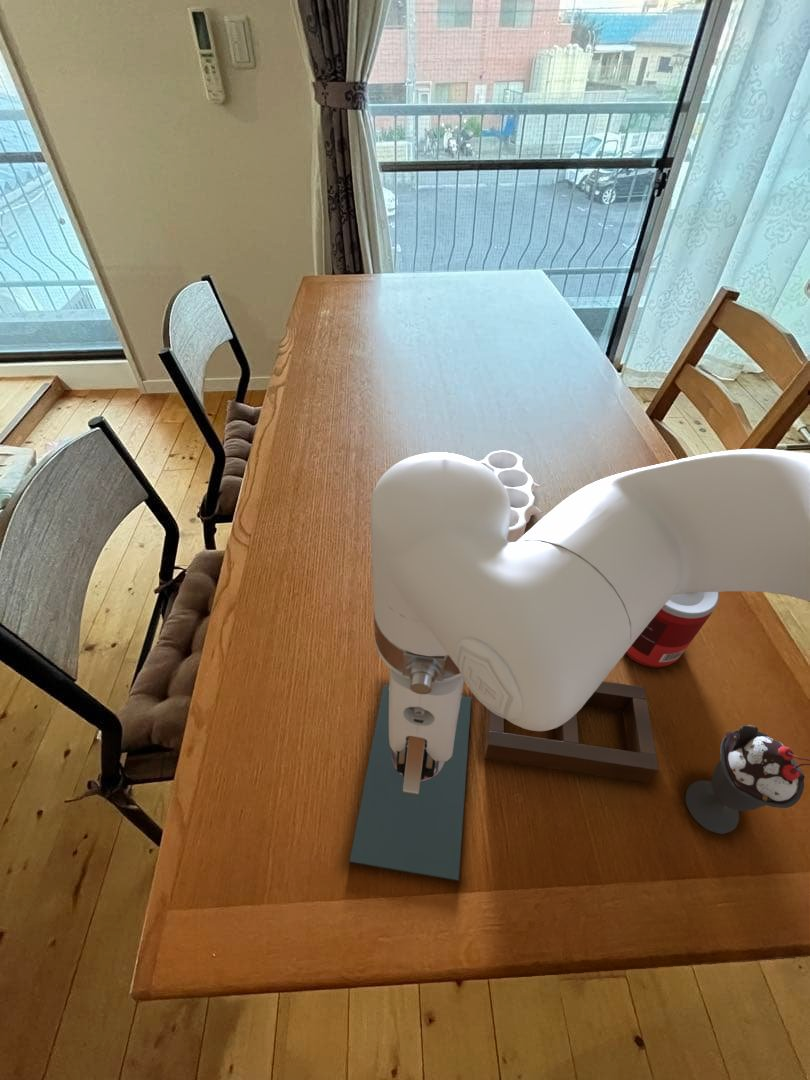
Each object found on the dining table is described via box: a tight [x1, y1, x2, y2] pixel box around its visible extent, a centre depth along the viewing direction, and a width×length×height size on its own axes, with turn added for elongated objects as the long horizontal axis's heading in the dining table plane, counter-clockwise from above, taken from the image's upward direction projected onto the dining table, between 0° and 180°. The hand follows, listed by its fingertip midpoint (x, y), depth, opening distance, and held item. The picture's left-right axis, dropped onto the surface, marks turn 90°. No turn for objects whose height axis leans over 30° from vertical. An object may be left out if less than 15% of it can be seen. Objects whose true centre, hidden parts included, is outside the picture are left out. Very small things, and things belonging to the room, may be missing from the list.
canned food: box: [625, 591, 720, 668], centre depth 64 cm, size 8×8×11 cm
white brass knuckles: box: [478, 450, 543, 542], centre depth 83 cm, size 3×18×15 cm
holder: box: [483, 680, 659, 784], centre depth 59 cm, size 9×16×4 cm, turn 82°
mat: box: [349, 684, 472, 882], centre depth 56 cm, size 18×10×1 cm, turn 172°
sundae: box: [685, 724, 810, 834], centre depth 49 cm, size 7×7×15 cm
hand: (419, 737), depth 50 cm, fingers closed on pill bottle, 5 cm apart
